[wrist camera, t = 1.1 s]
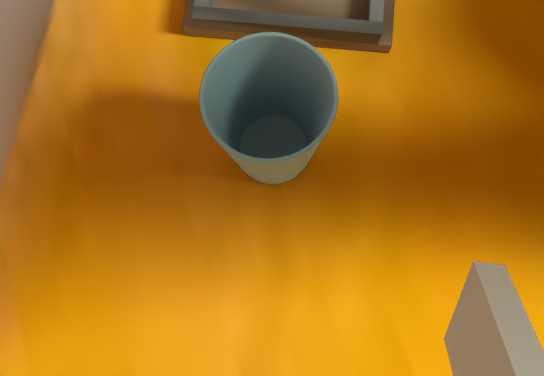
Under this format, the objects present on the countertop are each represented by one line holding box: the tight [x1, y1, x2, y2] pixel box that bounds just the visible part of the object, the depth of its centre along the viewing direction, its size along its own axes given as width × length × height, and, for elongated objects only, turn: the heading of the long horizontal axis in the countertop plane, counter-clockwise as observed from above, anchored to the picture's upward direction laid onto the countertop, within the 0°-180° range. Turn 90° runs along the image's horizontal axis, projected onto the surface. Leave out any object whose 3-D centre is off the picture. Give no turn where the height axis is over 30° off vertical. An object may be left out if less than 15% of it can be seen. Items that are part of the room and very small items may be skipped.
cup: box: [199, 32, 338, 185], centre depth 33 cm, size 8×8×10 cm
